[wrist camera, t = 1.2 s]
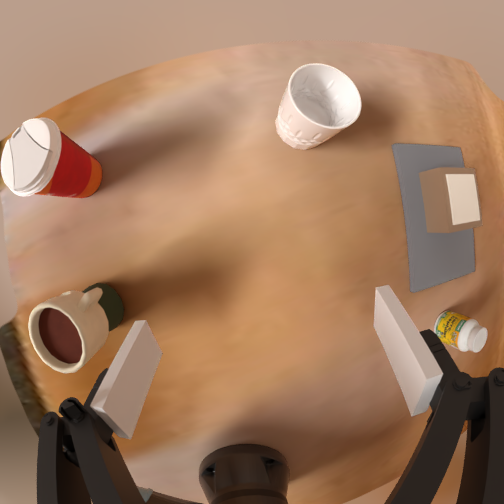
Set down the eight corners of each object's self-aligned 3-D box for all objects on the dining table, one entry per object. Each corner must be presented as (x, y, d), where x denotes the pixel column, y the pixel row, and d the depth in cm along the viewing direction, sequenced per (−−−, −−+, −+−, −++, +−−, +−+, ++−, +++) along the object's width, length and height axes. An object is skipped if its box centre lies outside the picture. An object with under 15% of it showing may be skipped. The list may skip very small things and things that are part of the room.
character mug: (107, 256, 32) (53, 269, 19) (147, 294, 33) (110, 328, 20) (67, 315, 32) (14, 347, 19) (104, 350, 33) (62, 396, 20)
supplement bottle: (444, 341, 39) (480, 359, 30) (428, 335, 39) (465, 354, 29) (456, 313, 39) (493, 327, 30) (440, 306, 38) (480, 320, 29)
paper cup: (54, 175, 30) (-10, 154, 17) (94, 138, 31) (40, 98, 17) (78, 218, 31) (12, 214, 18) (120, 181, 32) (66, 154, 18)
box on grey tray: (471, 270, 39) (495, 275, 33) (410, 291, 37) (436, 300, 31) (456, 148, 37) (480, 141, 31) (391, 145, 35) (416, 133, 29)
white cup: (302, 166, 34) (332, 144, 24) (258, 124, 33) (271, 88, 23) (339, 130, 34) (374, 102, 25) (297, 90, 33) (320, 52, 24)
